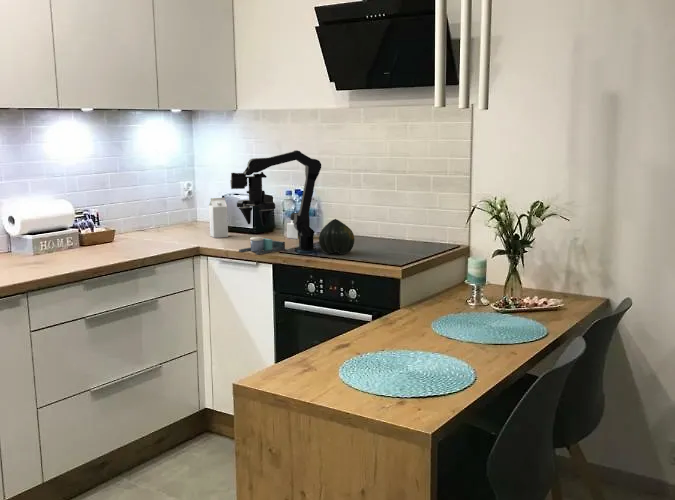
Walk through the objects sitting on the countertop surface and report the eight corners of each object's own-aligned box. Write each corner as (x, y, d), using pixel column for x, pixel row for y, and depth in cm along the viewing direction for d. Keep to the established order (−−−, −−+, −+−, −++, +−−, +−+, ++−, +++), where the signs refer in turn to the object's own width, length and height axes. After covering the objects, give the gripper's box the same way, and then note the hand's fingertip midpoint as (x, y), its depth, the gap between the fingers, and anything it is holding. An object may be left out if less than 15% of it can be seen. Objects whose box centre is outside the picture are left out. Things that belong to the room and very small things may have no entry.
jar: (255, 251, 314) (254, 239, 313) (247, 250, 319) (247, 237, 318) (266, 250, 318) (266, 237, 317) (259, 248, 322) (259, 236, 321)
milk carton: (210, 236, 364) (208, 197, 360) (224, 235, 367) (222, 197, 363) (213, 238, 357) (212, 199, 354) (228, 237, 360) (226, 198, 357)
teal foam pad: (258, 248, 325) (258, 237, 324) (272, 250, 319) (272, 239, 318) (255, 249, 323) (255, 237, 322) (269, 251, 318) (268, 239, 317)
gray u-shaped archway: (266, 246, 330) (266, 239, 330) (284, 249, 322) (284, 241, 322) (238, 251, 318) (238, 243, 318) (257, 254, 311) (257, 246, 310)
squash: (339, 244, 300) (350, 214, 307) (308, 243, 308) (320, 214, 315) (353, 263, 311) (363, 234, 317) (323, 261, 318) (334, 233, 325)
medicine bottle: (298, 239, 352) (297, 214, 350) (286, 238, 356) (286, 213, 354) (307, 237, 357) (307, 212, 355) (296, 236, 361) (295, 211, 359)
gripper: (284, 188, 314) (285, 224, 316) (254, 186, 326) (255, 221, 328) (264, 190, 305) (265, 227, 308) (235, 187, 318) (236, 223, 320)
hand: (256, 224), depth 316 cm, fingers open, 9 cm apart
